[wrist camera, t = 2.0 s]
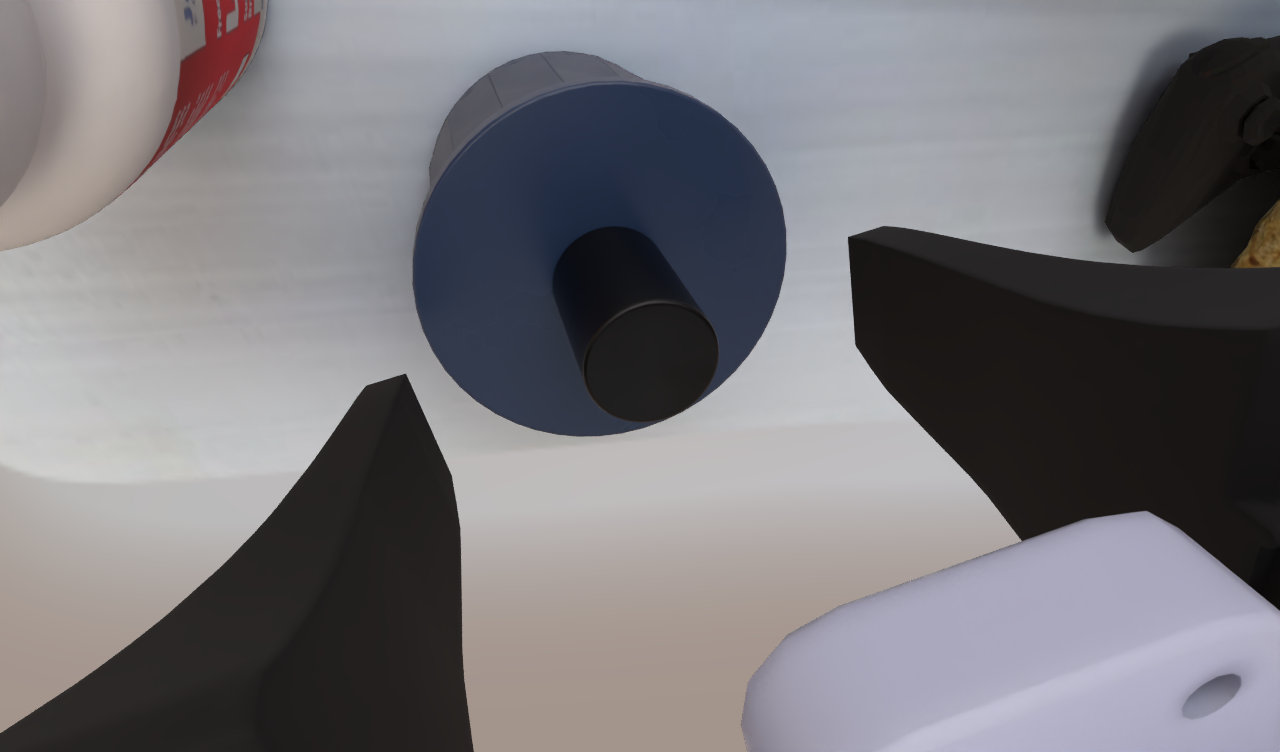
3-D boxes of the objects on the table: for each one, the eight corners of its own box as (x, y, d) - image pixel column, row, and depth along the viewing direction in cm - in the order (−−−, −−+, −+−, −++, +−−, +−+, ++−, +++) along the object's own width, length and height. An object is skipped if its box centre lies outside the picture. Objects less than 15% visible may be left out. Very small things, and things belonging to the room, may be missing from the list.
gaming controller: (1102, 261, 24) (1240, 225, 19) (1057, 110, 24) (1183, 35, 19) (1349, 187, 25) (1541, 135, 20) (1305, 42, 25) (1486, -46, 20)
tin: (696, 56, 19) (783, 104, 15) (671, 298, 22) (736, 399, 18) (421, 44, 18) (424, 94, 13) (437, 306, 21) (444, 419, 16)
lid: (793, 76, 15) (916, 132, 11) (741, 399, 19) (822, 521, 15) (398, 62, 13) (390, 122, 10) (424, 420, 17) (427, 565, 13)
